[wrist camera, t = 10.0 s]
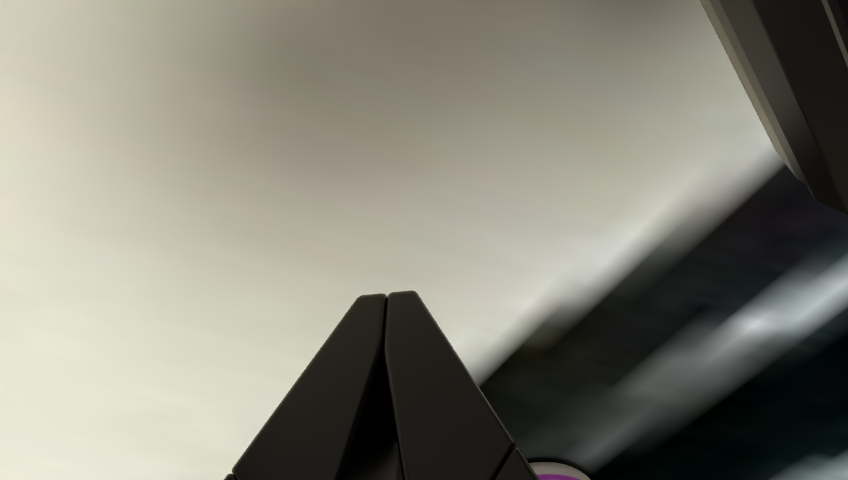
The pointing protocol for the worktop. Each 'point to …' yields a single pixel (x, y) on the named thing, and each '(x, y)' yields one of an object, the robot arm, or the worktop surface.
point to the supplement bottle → (557, 471)
